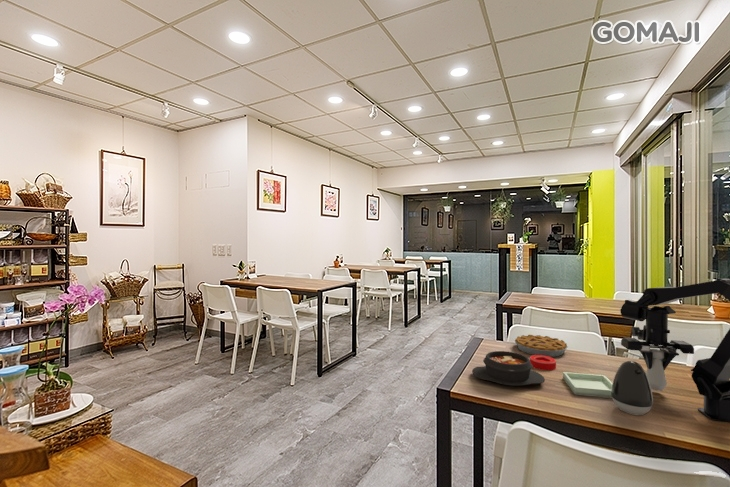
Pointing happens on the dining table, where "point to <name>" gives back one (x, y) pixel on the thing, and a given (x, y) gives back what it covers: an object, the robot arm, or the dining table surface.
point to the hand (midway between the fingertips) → (655, 370)
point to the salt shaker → (657, 371)
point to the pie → (541, 345)
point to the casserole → (508, 369)
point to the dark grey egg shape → (632, 389)
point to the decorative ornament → (543, 362)
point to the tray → (588, 384)
